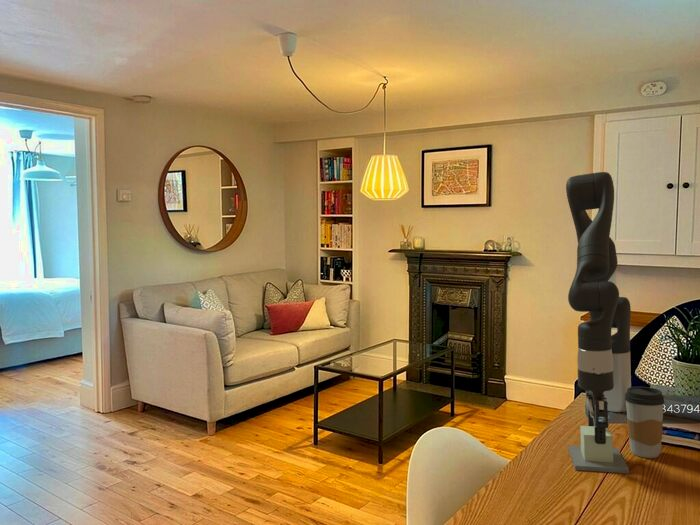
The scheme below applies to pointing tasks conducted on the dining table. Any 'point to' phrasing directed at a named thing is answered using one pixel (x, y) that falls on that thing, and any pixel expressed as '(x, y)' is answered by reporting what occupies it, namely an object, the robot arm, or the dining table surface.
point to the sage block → (596, 445)
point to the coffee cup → (645, 420)
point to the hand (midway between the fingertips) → (596, 436)
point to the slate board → (581, 464)
